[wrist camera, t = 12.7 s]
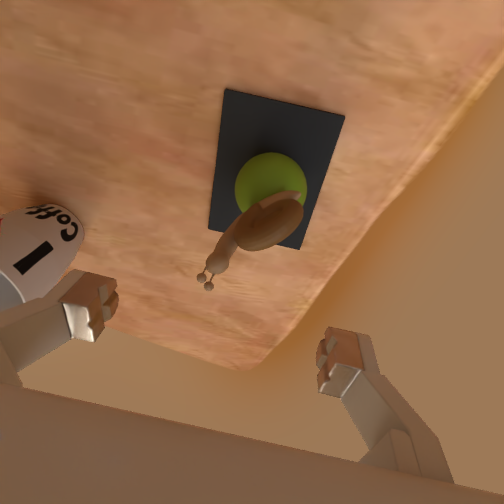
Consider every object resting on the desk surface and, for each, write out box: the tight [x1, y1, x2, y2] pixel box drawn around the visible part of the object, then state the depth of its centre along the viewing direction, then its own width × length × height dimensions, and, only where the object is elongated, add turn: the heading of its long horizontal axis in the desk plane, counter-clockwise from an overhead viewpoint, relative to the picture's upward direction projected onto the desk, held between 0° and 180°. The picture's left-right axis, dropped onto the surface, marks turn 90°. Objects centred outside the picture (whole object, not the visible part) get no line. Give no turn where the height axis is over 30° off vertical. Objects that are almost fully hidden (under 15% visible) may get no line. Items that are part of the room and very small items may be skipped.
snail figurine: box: [197, 152, 307, 291], centre depth 20 cm, size 5×6×12 cm
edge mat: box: [208, 89, 345, 250], centre depth 25 cm, size 12×9×1 cm
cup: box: [0, 204, 84, 312], centre depth 26 cm, size 8×8×10 cm
